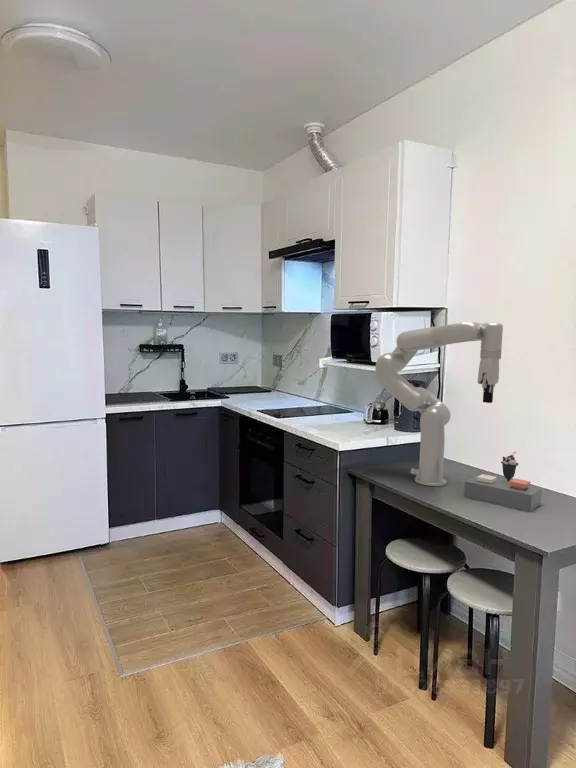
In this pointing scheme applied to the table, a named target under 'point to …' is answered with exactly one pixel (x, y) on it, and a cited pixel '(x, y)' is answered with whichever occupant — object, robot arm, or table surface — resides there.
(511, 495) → the block
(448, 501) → the table surface
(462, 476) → the table surface
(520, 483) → the pink block
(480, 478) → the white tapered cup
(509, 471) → the sundae
